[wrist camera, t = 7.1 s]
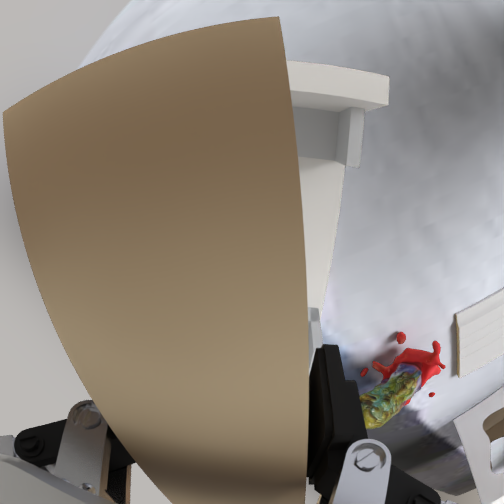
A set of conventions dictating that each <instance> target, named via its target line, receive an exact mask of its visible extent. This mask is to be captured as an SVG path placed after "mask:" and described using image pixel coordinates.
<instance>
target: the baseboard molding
mask: <svg viewBox="0 0 504 504" xmlns="http://www.w3.org/2000/svg"><path fill="white" fill-rule="evenodd" d="M455 315H456V332H457V375H458V377H459V379H460V378H462V377H464V376H466V375H468V374H470V373H472V372H473V371H475V370H477V369H479V368H481V367H483V366H484V365H486V364H488V363H490V362H491V361H493V360H495V359H497V358H498V357H500V356H502V355H503V354H504V287H503V288H502V289H500V290H498V291H496V292H495V293H493V294H491V295H489V296H488V297H486V298H484V299H482V300H480V301H478V302H476V303H475V304H473V305H471V306H469V307H467V308H465V309H463V310H461V311H459V312H457V313H455Z"/></svg>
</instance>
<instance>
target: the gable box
mask: <svg viewBox="0 0 504 504" xmlns="http://www.w3.org/2000/svg"><path fill="white" fill-rule="evenodd" d="M453 422H454V425H455V427H456V430H457V432H458V435H459V438H460V440H461V443H462V446H463V448H464V451H465V454H466V457H467V460H468V463H469V466H470V469H471V472H472V475H473V478H474V481H475V484H476V488H477V491H478V495H479V498H480V502H481V504H504V473H501V474H495V473H493V472H492V464H491V460H490V459H491V444H490V443H491V442H492V441H494V440H496V439H498V438H501V437H504V386H503V387H501V388H500V389H499V390H497V391H496V392H495V393H493V394H492V395H490V396H489V397H488V398H486V399H485V400H483V401H482V402H480V403H479V404H477V405H476V406H474V407H473V408H471V409H470V410H468V411H467V412H465V413H464V414H462V415H460V416H459V417H457V418H455V419H454V420H453Z"/></svg>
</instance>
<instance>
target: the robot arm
mask: <svg viewBox="0 0 504 504" xmlns="http://www.w3.org/2000/svg"><path fill="white" fill-rule="evenodd" d="M133 463H136V461H135V460H134V459H133V458H132V456H131V455H130V454H129V452H128V451H127V450H126V448H125V447H124V446H123V444H122V443H121V442H120V440H119V439H118V438H117V436H116V435H115V433H114V432H113V430H112V429H111V428H110V426H109V425H108V423H107V422H106V420H105V419H104V417H103V416H102V414H101V413H100V411H99V409H98V408H97V406H96V405H95V403H94V401H93V400H85V401H80V402H78V403H77V404H75V405H74V406H73V407H72V408H71V410H70V412H69V414H68V417H67V419H65V420H61V421H57V422H53V423H49V424H45V425H42V426H37V427H33V428H29V429H26V430H23V431H21V432H20V433H19V434H18V435H17V437H16V438H14V437H13V435H7V436H0V504H130V486H131V464H133ZM306 477H309V484H314V487H315V490H316V491H317V492H318V493H320V496H319V499H318V502H317V504H457V503H454V502H452V501H449V500H447V501H445V502H444V501H442V500H441V499H440V496H439V495H438V493H437V492H436V491H435V490H433V489H432V488H430V487H428V486H427V485H425V484H423V483H421V482H420V481H418V480H416V479H415V478H413V477H411V476H410V475H408V474H406V473H405V472H403V471H401V470H400V469H398V468H397V467H395V466H393V465H392V464H391V454H390V452H389V450H388V448H387V447H386V446H385V445H384V444H382V443H381V442H379V441H376V440H373V439H368V437H367V431H366V426H365V421H364V416H363V411H362V406H361V402H360V397H359V392H358V388H357V384H356V382H355V381H354V380H345V377H344V372H343V367H342V362H341V357H340V352H339V347H338V345H328V344H323V345H322V346H321V348H316V351H315V355H314V359H313V363H312V367H311V371H310V375H309V417H308V452H307V474H306Z"/></svg>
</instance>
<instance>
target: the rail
mask: <svg viewBox="0 0 504 504" xmlns="http://www.w3.org/2000/svg"><path fill="white" fill-rule="evenodd" d="M3 126H4V138H5V148H6V157H7V165H8V172H9V178H10V184H11V189H12V194H13V200H14V205H15V209H16V213H17V218H18V222H19V226H20V230H21V234H22V238H23V241H24V245H25V248H26V252H27V255H28V258H29V262H30V265H31V267H32V271H33V274H34V277H35V280H36V282H37V285H38V288H39V291H40V293H41V296H42V299H43V301H44V304H45V306H46V309H47V311H48V313H49V316H50V318H51V321H52V323H53V325H54V327H55V330H56V332H57V334H58V336H59V338H60V340H61V343H62V345H63V347H64V349H65V351H66V353H67V355H68V357H69V359H70V361H71V363H72V365H73V366H74V368H75V370H76V372H77V374H78V376H79V378H80V379H81V381H82V383H83V385H84V386H85V388H86V390H87V391H88V393H89V395H90V397H91V398H92V400H93V401H94V403H95V405H96V406H97V408H98V409H99V411H100V413H101V414H102V416H103V417H104V419H105V420H106V422H107V423H108V425H109V426H110V428H111V429H112V430H113V432H114V433H115V435H116V436H117V438H118V439H119V440H120V442H121V443H122V444H123V446H124V447H125V448H126V450H127V451H128V452H129V454H130V455H131V456H132V458H133V459H134V460H135V461H136V463H137V464H138V465H139V466H140V468H141V469H142V470H143V471H144V472H145V474H146V475H147V476H148V477H149V478H150V479H151V480H152V482H153V483H154V484H155V485H156V486H157V487H158V489H159V490H160V491H161V492H162V493H163V494H164V495H165V496H166V497H167V498H168V499H169V500H170V502H172V504H305V491H306V474H307V452H308V417H309V339H308V302H307V277H306V257H305V240H304V224H303V210H302V197H301V185H300V174H299V163H298V153H297V143H296V134H295V125H294V116H293V108H292V100H291V92H290V85H289V77H288V70H287V63H286V57H285V50H284V43H283V37H282V31H281V25H280V19H279V17H268V18H259V19H250V20H243V21H236V22H230V23H224V24H219V25H213V26H208V27H204V28H199V29H195V30H190V31H186V32H182V33H178V34H174V35H171V36H167V37H163V38H160V39H157V40H153V41H150V42H147V43H144V44H141V45H138V46H135V47H132V48H129V49H126V50H124V51H121V52H118V53H116V54H113V55H110V56H108V57H105V58H103V59H101V60H98V61H96V62H94V63H91V64H89V65H87V66H84V67H82V68H80V69H78V70H76V71H74V72H72V73H70V74H68V75H66V76H64V77H62V78H60V79H58V80H56V81H54V82H52V83H50V84H49V85H47V86H45V87H43V88H41V89H40V90H38V91H36V92H34V93H33V94H31V95H29V96H28V97H26V98H24V99H22V100H21V101H19V102H18V103H16V104H15V105H13V106H11V107H10V108H9V109H7V110H5V111H4V112H3Z"/></svg>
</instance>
